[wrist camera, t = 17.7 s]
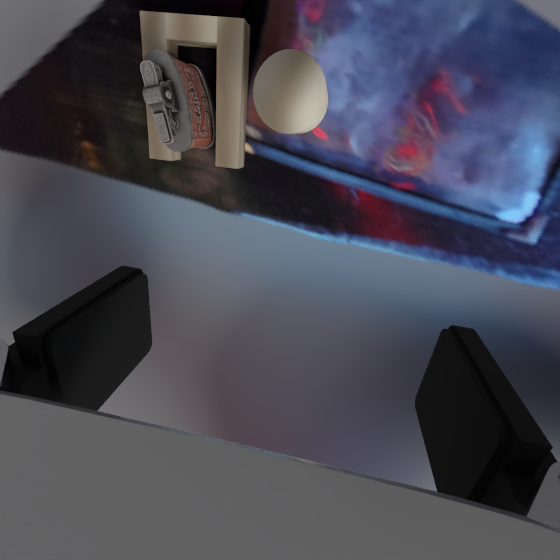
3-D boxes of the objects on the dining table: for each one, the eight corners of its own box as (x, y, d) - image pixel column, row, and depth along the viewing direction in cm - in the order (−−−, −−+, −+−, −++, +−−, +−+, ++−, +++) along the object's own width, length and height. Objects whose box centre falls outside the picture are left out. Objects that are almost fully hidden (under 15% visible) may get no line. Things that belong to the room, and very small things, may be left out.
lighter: (174, 68, 34) (117, 46, 25) (204, 62, 34) (157, 36, 25) (194, 150, 37) (149, 156, 28) (221, 145, 37) (185, 149, 28)
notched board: (250, 26, 32) (243, 18, 30) (243, 166, 37) (238, 168, 35) (153, 19, 33) (139, 10, 30) (160, 156, 38) (149, 158, 36)
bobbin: (332, 70, 32) (332, 52, 25) (323, 136, 35) (320, 137, 28) (272, 65, 33) (255, 45, 26) (268, 130, 35) (251, 129, 28)
